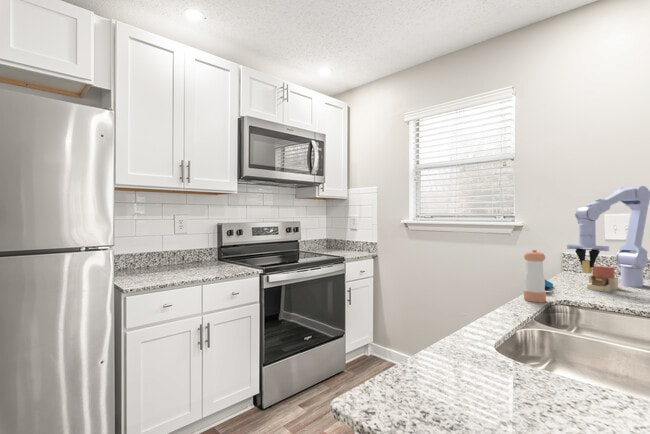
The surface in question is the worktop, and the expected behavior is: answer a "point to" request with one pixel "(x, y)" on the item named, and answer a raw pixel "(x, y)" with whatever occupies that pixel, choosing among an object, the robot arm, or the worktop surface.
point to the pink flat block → (604, 272)
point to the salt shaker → (534, 277)
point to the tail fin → (586, 266)
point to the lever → (548, 284)
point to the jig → (608, 288)
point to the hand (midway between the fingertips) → (587, 267)
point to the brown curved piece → (599, 281)
